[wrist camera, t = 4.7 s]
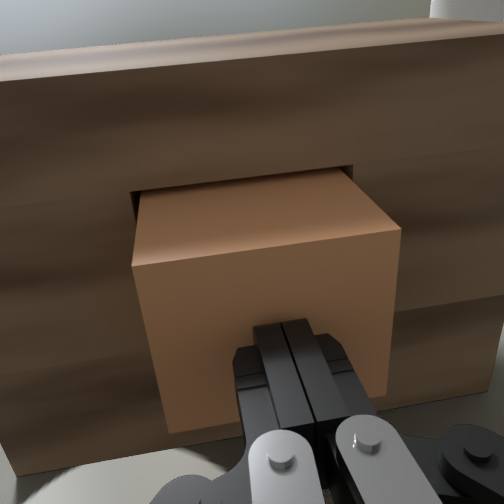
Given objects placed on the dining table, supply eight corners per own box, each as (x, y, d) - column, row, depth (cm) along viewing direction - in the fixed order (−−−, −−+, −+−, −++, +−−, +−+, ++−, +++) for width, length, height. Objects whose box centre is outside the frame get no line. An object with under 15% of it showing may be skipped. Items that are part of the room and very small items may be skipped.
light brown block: (386, 395, 15) (401, 229, 12) (169, 433, 15) (131, 266, 12) (316, 271, 22) (316, 146, 19) (167, 293, 21) (144, 166, 19)
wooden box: (487, 391, 23) (572, 27, 15) (16, 476, 21) (-166, 97, 13) (398, 283, 32) (424, 17, 24) (60, 334, 29) (-32, 57, 22)
